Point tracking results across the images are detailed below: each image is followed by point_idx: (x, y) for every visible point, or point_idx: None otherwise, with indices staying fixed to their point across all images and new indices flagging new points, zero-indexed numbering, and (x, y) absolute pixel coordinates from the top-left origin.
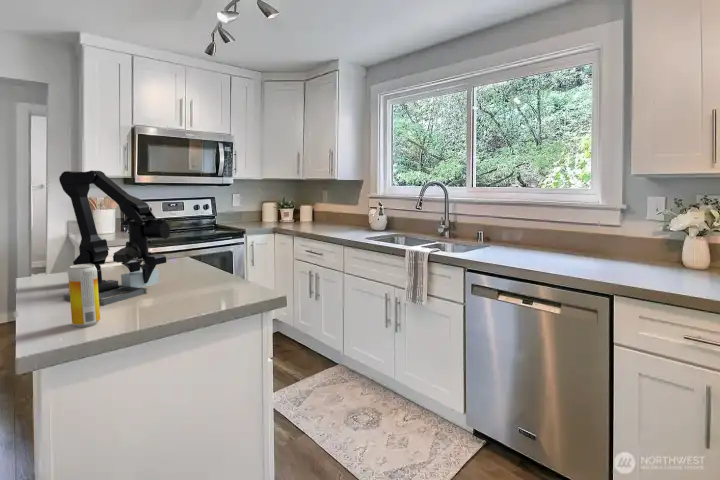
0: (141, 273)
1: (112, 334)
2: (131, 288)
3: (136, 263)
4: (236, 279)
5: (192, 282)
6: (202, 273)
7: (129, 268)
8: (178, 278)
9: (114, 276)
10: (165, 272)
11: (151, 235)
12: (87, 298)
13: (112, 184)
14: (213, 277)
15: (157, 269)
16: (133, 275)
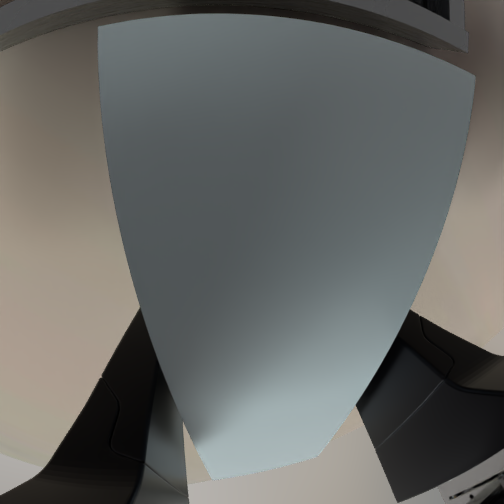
0: (171, 383)
1: None
2: (26, 2)
3: (422, 473)
4: (9, 455)
5: (42, 422)
6: (186, 474)
7: (470, 362)
8: (188, 438)
9: (498, 296)
10: (341, 428)
11: None
12: None
13: None
14: None
15: (211, 477)
16: (118, 182)
